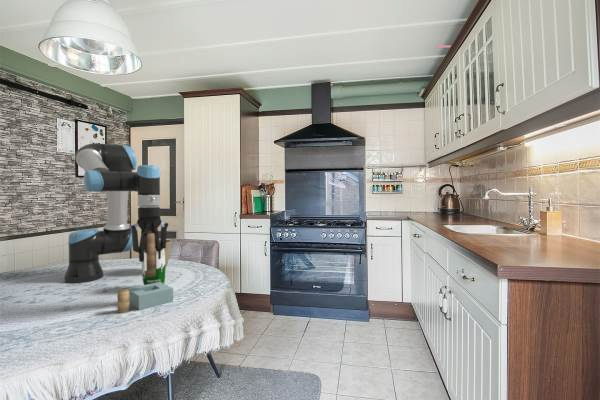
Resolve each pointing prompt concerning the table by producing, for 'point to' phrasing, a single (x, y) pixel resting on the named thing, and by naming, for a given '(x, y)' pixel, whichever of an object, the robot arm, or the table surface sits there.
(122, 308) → the oak pin short
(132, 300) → the socket block
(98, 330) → the table surface
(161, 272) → the milk carton
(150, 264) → the walnut pin long
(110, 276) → the table surface
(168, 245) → the plant pot
